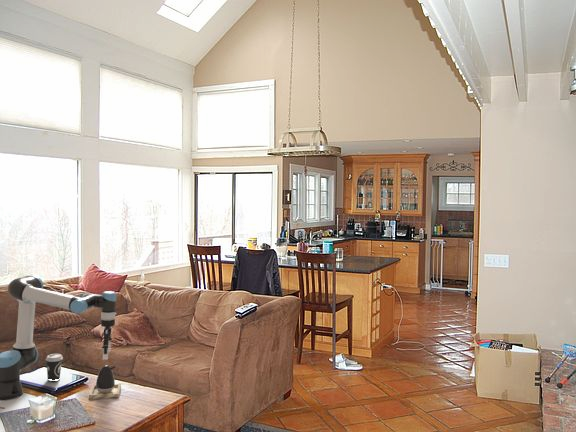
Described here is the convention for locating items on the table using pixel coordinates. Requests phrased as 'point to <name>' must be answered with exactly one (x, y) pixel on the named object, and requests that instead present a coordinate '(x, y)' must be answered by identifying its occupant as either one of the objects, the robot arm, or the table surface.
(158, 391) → the table surface
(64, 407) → the table surface
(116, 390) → the beige flat square tray
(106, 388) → the pump dispenser
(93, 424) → the table surface
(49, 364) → the coffee cup
